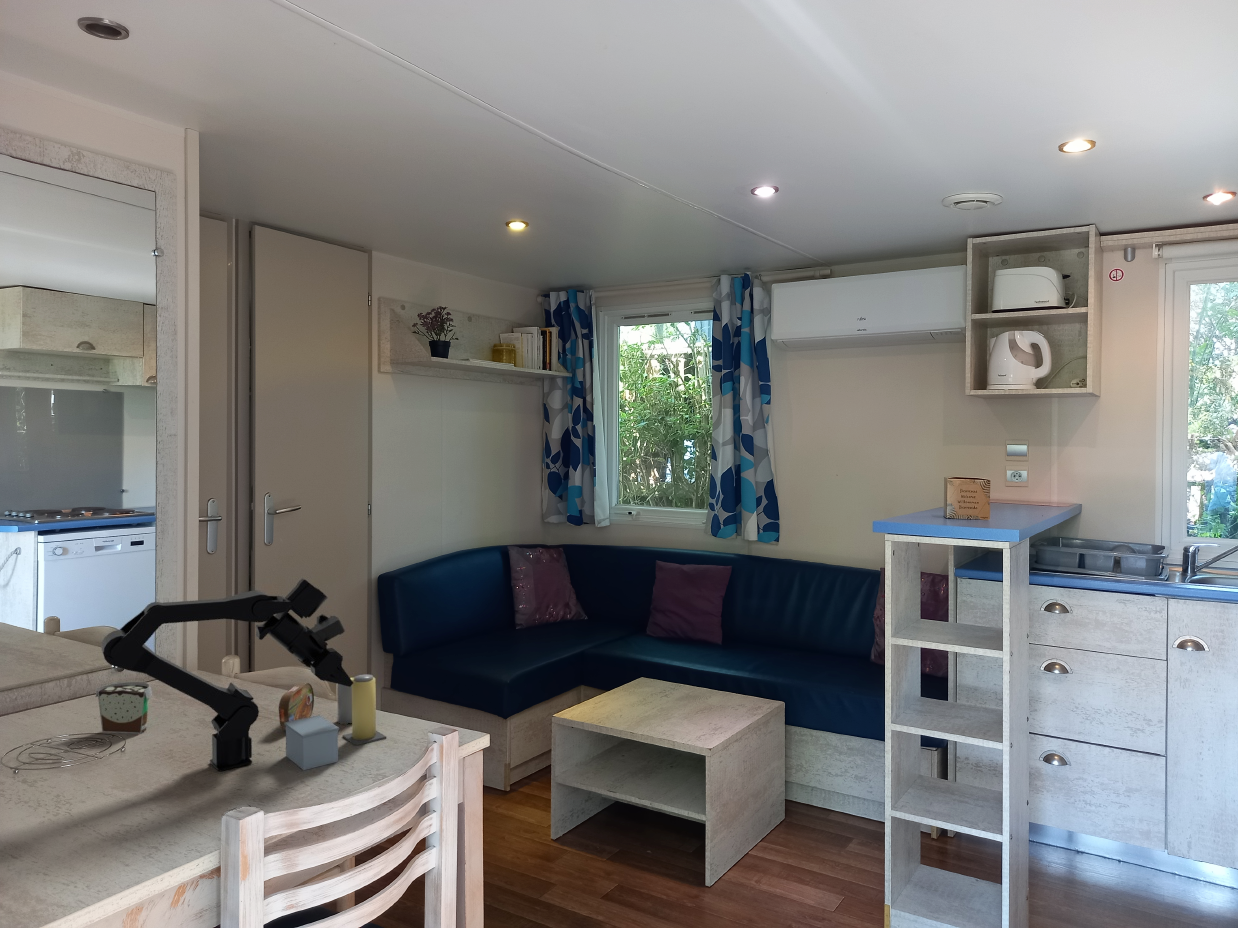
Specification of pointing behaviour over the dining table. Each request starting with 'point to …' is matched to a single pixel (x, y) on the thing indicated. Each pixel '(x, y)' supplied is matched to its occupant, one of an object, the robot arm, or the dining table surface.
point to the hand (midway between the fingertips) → (345, 679)
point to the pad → (359, 742)
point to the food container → (124, 707)
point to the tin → (296, 704)
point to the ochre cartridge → (363, 707)
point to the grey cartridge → (344, 703)
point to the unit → (311, 742)
